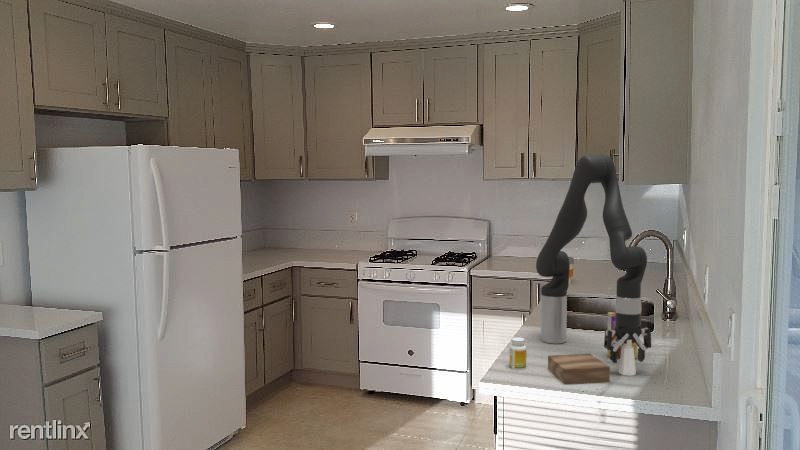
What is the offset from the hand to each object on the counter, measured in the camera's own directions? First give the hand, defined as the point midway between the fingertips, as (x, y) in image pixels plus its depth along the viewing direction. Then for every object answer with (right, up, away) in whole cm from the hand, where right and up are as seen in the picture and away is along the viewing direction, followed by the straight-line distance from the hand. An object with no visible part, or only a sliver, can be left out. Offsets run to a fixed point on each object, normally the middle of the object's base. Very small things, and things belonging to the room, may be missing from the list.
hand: (627, 361), depth 197 cm
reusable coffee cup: (+18, +10, +149) cm, 150 cm away
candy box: (+4, -2, +17) cm, 18 cm away
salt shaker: (0, -4, 0) cm, 4 cm away
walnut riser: (-16, -4, -1) cm, 16 cm away
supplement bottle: (-33, -4, +7) cm, 34 cm away
